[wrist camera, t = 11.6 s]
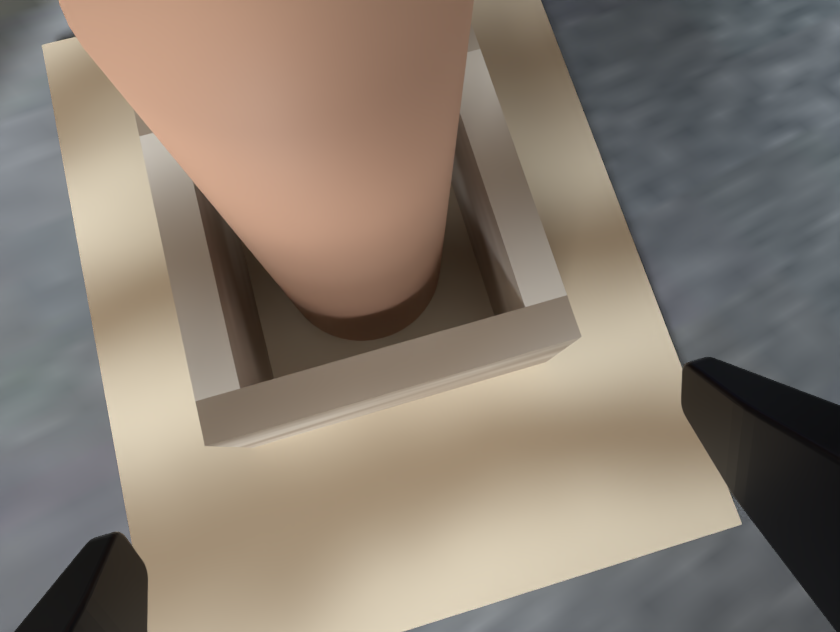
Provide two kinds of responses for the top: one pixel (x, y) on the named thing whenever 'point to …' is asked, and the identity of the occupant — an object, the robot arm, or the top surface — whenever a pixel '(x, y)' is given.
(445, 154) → the peg
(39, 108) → the top surface
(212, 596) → the socket
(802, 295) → the top surface
